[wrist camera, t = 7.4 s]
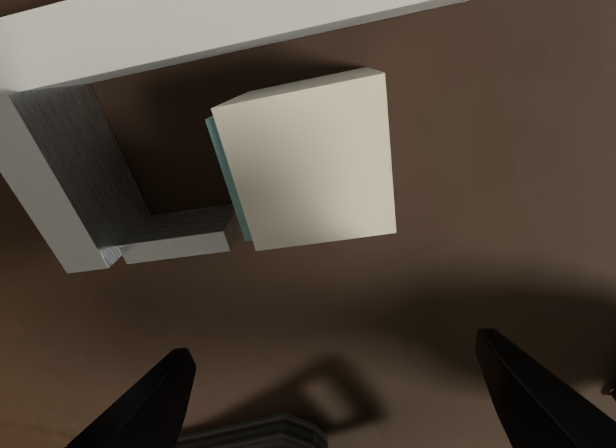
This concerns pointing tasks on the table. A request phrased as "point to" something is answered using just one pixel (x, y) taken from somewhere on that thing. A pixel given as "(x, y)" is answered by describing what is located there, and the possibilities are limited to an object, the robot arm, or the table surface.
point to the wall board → (162, 34)
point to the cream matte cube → (308, 159)
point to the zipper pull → (259, 434)
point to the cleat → (93, 186)
